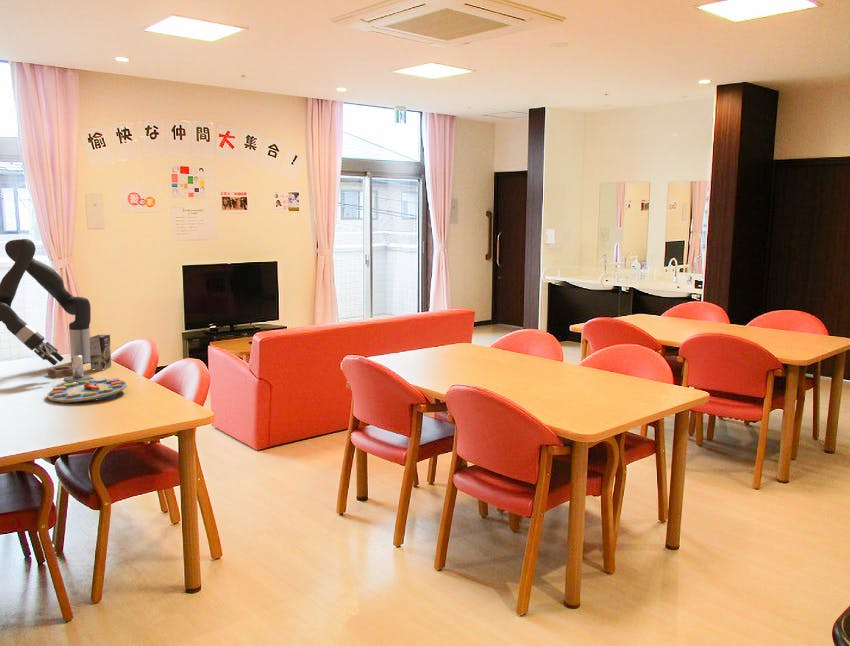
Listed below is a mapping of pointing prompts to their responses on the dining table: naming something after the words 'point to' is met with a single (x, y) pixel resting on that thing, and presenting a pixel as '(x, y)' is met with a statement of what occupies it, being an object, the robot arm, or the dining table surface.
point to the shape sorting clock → (87, 390)
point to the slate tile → (78, 379)
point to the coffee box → (100, 352)
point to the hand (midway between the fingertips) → (59, 361)
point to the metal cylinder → (77, 366)
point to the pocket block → (60, 371)
